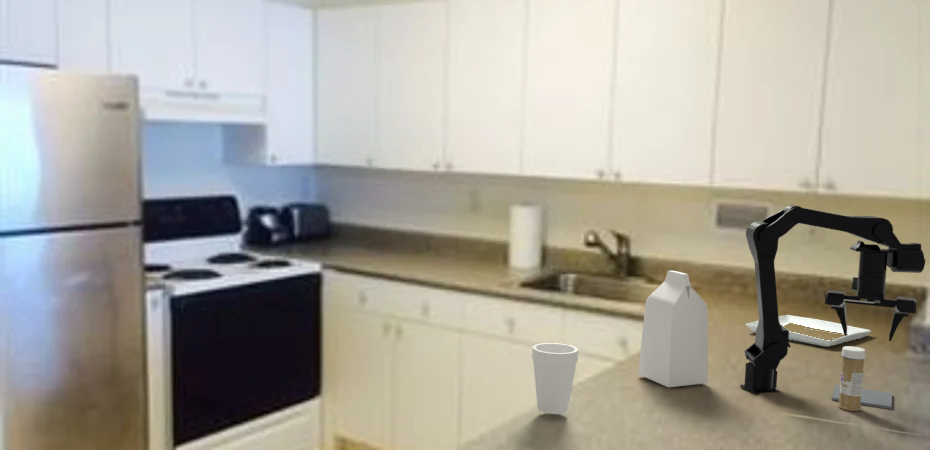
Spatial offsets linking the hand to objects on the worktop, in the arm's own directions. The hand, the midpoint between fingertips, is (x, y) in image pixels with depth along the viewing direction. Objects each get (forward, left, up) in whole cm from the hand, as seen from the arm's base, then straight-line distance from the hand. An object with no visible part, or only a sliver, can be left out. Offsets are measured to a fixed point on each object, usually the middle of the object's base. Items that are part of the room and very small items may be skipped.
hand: (867, 338), depth 191 cm
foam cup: (-76, +5, -13) cm, 78 cm away
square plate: (+29, +54, -14) cm, 63 cm away
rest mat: (-3, -3, -13) cm, 14 cm away
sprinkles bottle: (-12, -9, -13) cm, 20 cm away
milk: (-38, +21, -13) cm, 45 cm away
